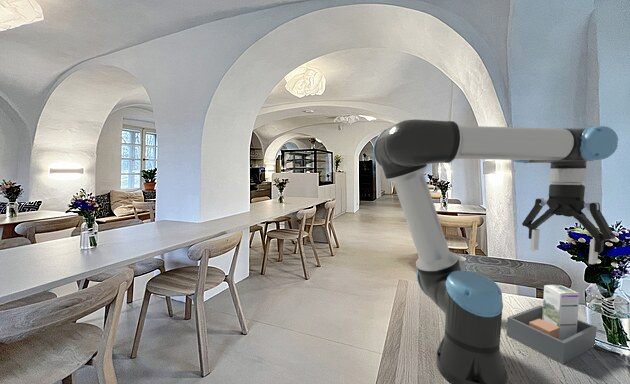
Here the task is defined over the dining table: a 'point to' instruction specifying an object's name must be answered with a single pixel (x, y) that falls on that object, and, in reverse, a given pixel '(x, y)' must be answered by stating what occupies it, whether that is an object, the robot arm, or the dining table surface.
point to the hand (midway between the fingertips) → (561, 256)
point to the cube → (545, 327)
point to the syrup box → (561, 309)
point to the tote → (546, 343)
